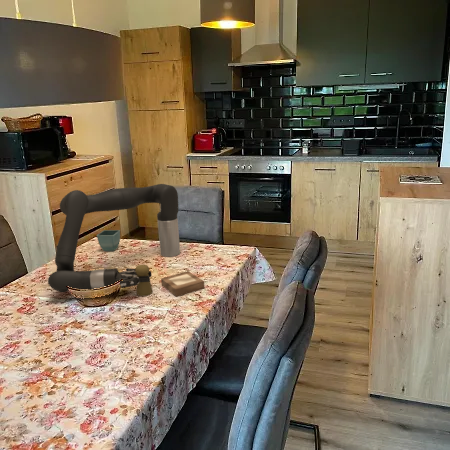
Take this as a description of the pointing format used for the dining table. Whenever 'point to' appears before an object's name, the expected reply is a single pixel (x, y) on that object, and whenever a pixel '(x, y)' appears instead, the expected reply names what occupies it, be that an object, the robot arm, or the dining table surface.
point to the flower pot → (109, 239)
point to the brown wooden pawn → (143, 287)
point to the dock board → (182, 283)
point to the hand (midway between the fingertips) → (150, 276)
